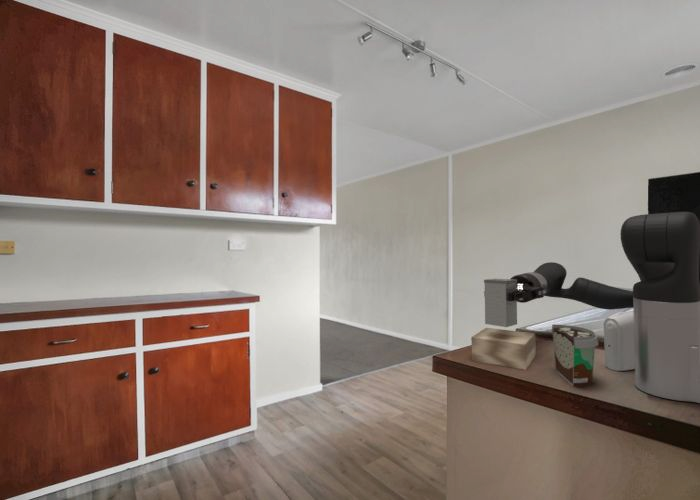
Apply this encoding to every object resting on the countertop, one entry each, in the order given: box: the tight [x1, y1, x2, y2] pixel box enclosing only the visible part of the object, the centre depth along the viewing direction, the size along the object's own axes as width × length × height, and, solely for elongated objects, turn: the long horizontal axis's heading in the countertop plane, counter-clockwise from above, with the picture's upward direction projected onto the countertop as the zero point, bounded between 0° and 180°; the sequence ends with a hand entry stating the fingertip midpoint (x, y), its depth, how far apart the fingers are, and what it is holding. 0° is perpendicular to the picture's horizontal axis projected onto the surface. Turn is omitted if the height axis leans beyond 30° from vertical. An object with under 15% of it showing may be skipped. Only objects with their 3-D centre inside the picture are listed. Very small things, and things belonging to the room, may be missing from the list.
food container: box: [551, 324, 599, 388], centre depth 72 cm, size 12×6×10 cm, turn 168°
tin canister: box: [483, 278, 518, 328], centre depth 86 cm, size 6×6×11 cm
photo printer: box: [603, 311, 635, 372], centre depth 78 cm, size 10×4×12 cm, turn 105°
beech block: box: [470, 327, 537, 370], centre depth 86 cm, size 12×12×6 cm
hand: (497, 295), depth 85 cm, fingers closed on tin canister, 5 cm apart
